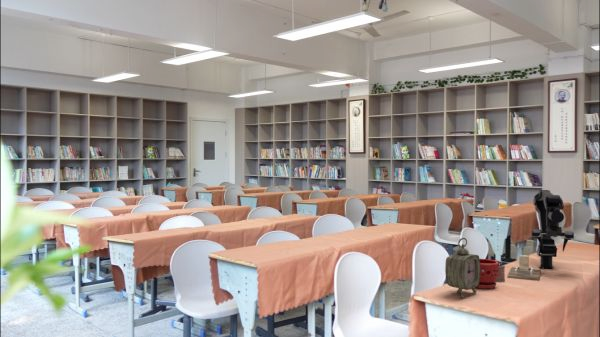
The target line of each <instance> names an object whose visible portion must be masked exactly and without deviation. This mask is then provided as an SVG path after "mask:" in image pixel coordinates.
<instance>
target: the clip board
mask: <svg viewBox="0 0 600 337" xmlns="http://www.w3.org/2000/svg"><path fill="white" fill-rule="evenodd" d="M541 273H542V269H535V268H533V267H529V271H526V270H519V266H516V267H514V266H512V267H511V268H510V270H509V272H508V273H507V278H509V279H518V280H527V281H529V280H530V281H537V282H538V281H540V278H541Z"/></svg>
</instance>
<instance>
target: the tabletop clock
mask: <svg viewBox="0 0 600 337" xmlns="http://www.w3.org/2000/svg"><path fill="white" fill-rule="evenodd" d="M463 240H465V244H464V243H462V244H461V245H460V243H461V241H463ZM457 245H458V247H459V248H458V249H457V251H456V253H454V254H451V255H449V256H447V257H446V258H445V266H444V267H445V269H444V271H445V283H446V285H447V286H448V287H452V288H456V289H457V290H456V294H459V298H460V299H463V298H464V294H463V290H466V291H468V290H472V293H473V294H476V293H477V289H475V288H477V287H476V286H478V285H479V282H480V259H481V258H480V256H479V255H477V254H472V253H470V252H469V250H468V249H467V248H465V247H466V246H467V245H468V240H467V238H465V237H461V238H460V239H459V240H458V242H457Z"/></svg>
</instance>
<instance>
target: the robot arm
mask: <svg viewBox="0 0 600 337" xmlns="http://www.w3.org/2000/svg"><path fill="white" fill-rule="evenodd" d="M532 201H533V203H532V204H533V206H534V209H535V211H536V212H537V213H538V218H539V227H540V228H539V229H537V228H535V229H534V228H533V229H532V231H531V237H534V238H535V239H537V240H538V242H539V243H538V245H537V247H536V248H537V249H536V255H537V256H538V258H539V257H540V264H539V269H548V270H554V265H553V257H554V258H556V257H558V256H557V252H558V248H557V245H556V242H555V239H553V238H557V237H564V238H563V245H562V252H563V253H564V251H565V249H566V245H567V243H568V241H572V239H575V232H574V231H572V230H565V231H564V232H563V229H562V228H563V227H562V226H560V223H561V222H563V221H564V219H565V216H564V213H563V212H561V210H564V207H565V205H564V201H563V199H562V197H561V196H560V195H559V194H553V193H552V192H551V190H549V189H540V190H539V191H538V193H537V194H535V195H534V196H533V200H532ZM552 237H553V238H552Z"/></svg>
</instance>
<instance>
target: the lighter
mask: <svg viewBox="0 0 600 337" xmlns="http://www.w3.org/2000/svg"><path fill="white" fill-rule="evenodd" d="M494 261H497V262H498V263H499V267H498V275H497V278H496V280H495V282H496V283H502V282H503V283H504V282H506V279H505V276H506V275H505V274H506V272H505V268H506V266H505V265H503V261H502V260H498V259H496V260H494ZM488 271H489V270H488ZM493 272H494V271H493Z"/></svg>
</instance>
